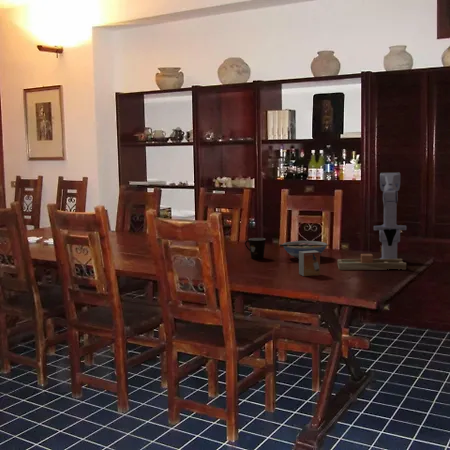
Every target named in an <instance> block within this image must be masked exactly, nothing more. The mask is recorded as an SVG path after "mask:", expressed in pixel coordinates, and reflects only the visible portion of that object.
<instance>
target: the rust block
mask: <svg viewBox="0 0 450 450" xmlns="http://www.w3.org/2000/svg"><path fill="white" fill-rule="evenodd" d="M360 259H361V263H373V259H374V255H373V254H372V253H360Z"/></svg>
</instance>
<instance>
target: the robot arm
mask: <svg viewBox="0 0 450 450" xmlns="http://www.w3.org/2000/svg"><path fill="white" fill-rule="evenodd" d="M379 188H380V191H381V192H382V202H383V224H381V225H373V231H379V232H378V233H379V236H378V237H379V238H378V239H379V242H380V243H381V257H379V259H398V243H400V242H401V231H407V225H398V224H397V205H398V201H399V198H398V194H399V193H398V191H400V188H401V173H400V172H399V171H398V172H380V174H379Z"/></svg>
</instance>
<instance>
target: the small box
mask: <svg viewBox="0 0 450 450" xmlns="http://www.w3.org/2000/svg"><path fill="white" fill-rule="evenodd" d="M298 274H299V275H301V276H302V277H308V276H311V277H312V276H321V254H320V252H318V251H316V250H313V251H299V259H298Z"/></svg>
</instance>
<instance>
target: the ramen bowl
mask: <svg viewBox="0 0 450 450" xmlns="http://www.w3.org/2000/svg"><path fill="white" fill-rule="evenodd" d="M327 246H329V247H331V244H328V243H326V242H323V241H316V240H296V241H293V240H292V241H288V242H283V243H282V244H279V247H283V249H284V250H285V251H286V252H287V254H289V255H290V256H291V257H295V258H296V259H298V260H299V251H313V250H316V251H318V252H320V255H322V253H323V252H324V251H325V249H326V248H327Z"/></svg>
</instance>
